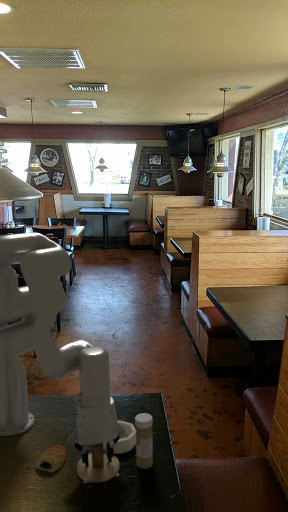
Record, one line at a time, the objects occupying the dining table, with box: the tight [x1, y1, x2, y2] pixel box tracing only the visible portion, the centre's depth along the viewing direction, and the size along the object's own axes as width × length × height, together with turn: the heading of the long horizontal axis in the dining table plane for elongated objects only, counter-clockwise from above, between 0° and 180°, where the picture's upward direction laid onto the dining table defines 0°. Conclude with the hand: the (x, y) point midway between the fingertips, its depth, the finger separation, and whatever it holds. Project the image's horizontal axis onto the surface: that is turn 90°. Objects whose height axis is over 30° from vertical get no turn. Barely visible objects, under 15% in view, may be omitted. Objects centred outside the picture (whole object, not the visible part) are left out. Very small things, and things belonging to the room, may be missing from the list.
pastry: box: [35, 444, 67, 473], centre depth 111 cm, size 9×7×4 cm
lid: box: [76, 442, 120, 484], centre depth 107 cm, size 11×11×7 cm
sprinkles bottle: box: [134, 412, 154, 470], centre depth 108 cm, size 5×5×13 cm
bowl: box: [103, 420, 136, 455], centre depth 118 cm, size 10×10×4 cm
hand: (97, 461), depth 107 cm, fingers open, 5 cm apart
